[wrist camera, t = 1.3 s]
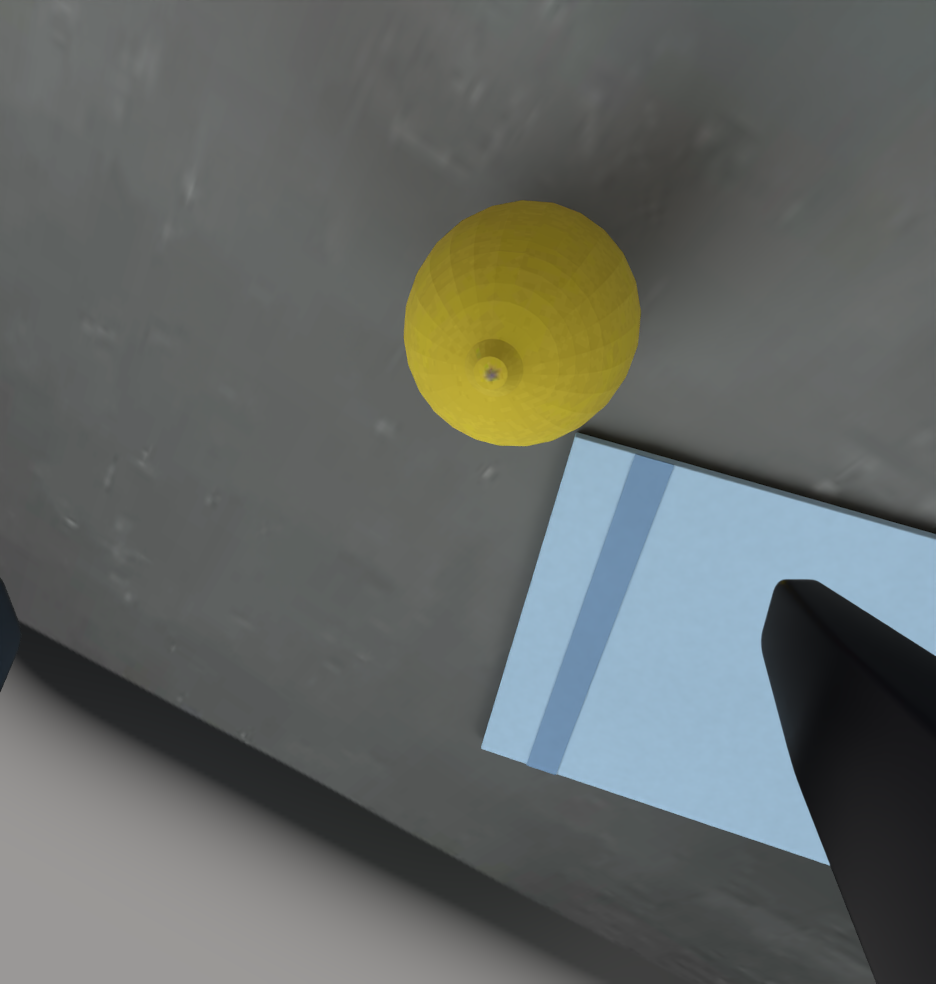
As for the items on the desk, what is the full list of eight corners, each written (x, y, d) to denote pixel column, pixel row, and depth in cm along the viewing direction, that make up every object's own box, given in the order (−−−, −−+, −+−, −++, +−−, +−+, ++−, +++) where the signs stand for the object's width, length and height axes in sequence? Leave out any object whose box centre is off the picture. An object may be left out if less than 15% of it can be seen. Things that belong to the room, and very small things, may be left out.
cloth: (1260, 625, 21) (1272, 635, 21) (994, 912, 28) (998, 923, 28) (576, 431, 23) (574, 436, 23) (482, 741, 30) (480, 749, 30)
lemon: (522, 413, 24) (462, 540, 17) (417, 262, 22) (303, 332, 15) (682, 316, 21) (690, 418, 14) (575, 141, 20) (525, 159, 13)
